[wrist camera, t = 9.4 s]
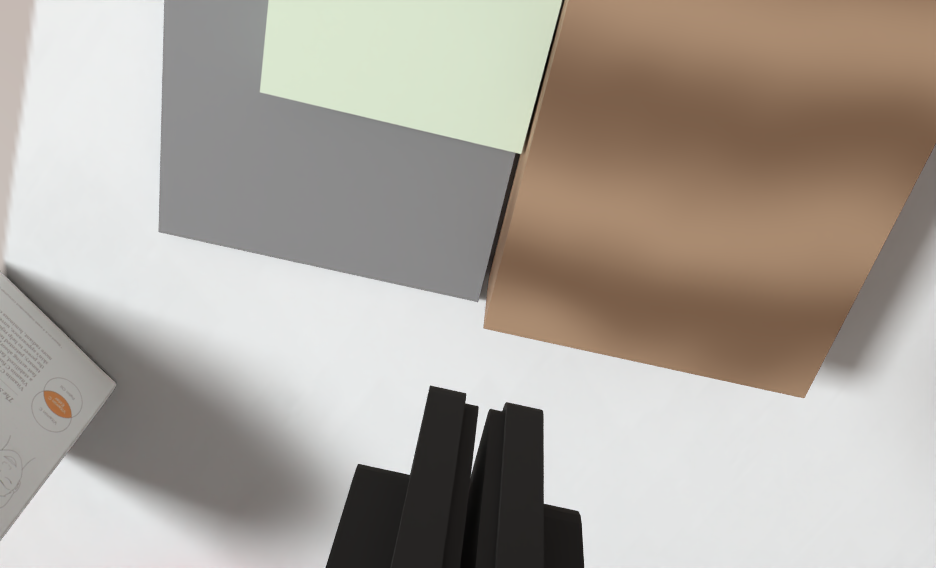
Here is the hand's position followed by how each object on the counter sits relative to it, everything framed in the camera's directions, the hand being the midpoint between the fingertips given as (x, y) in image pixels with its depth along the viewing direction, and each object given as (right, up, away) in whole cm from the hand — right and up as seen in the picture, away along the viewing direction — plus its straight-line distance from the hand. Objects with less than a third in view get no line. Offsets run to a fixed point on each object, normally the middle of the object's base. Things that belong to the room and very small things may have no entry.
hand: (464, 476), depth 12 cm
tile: (-2, +12, +16) cm, 20 cm away
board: (+9, +9, +17) cm, 21 cm away
